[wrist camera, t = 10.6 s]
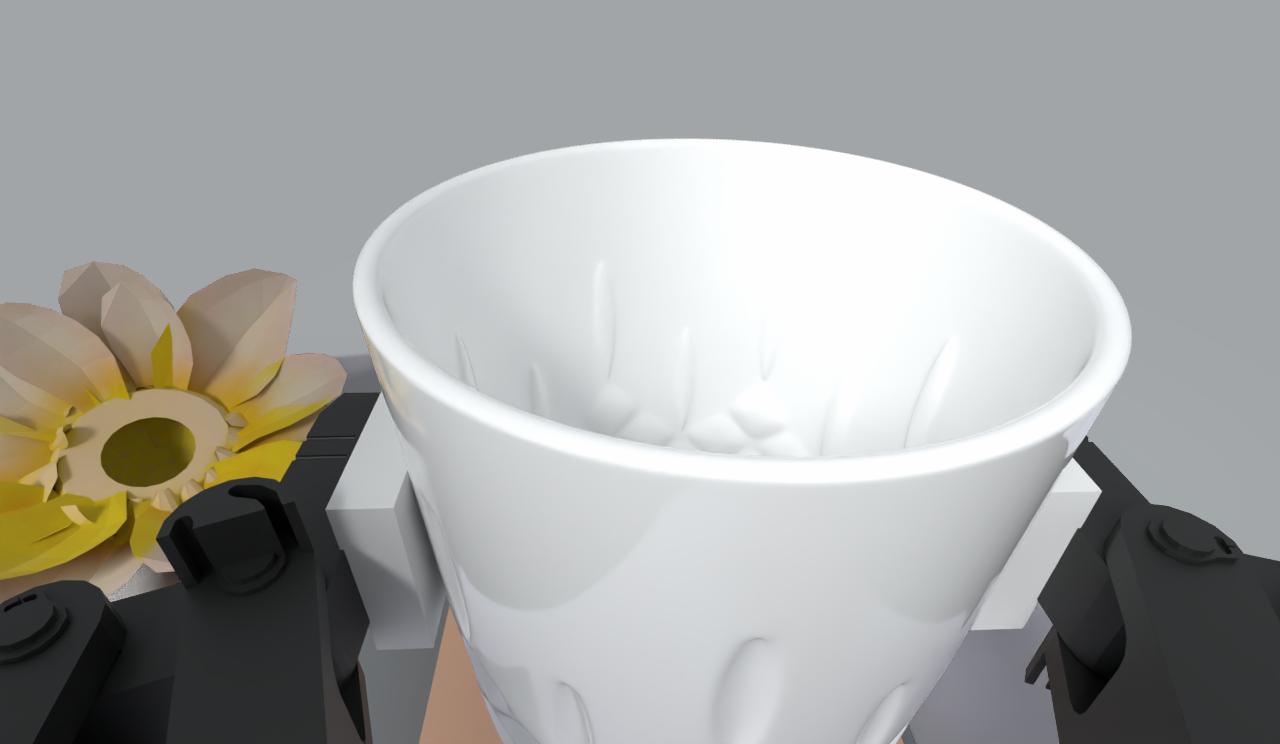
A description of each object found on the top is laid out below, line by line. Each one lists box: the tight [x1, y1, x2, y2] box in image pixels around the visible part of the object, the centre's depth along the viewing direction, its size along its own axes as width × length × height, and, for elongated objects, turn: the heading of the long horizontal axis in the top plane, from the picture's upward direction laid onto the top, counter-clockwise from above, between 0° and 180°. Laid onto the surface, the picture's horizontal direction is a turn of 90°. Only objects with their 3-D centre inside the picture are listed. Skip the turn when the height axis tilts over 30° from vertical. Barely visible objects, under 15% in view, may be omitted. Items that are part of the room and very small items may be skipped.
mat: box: [358, 595, 915, 744], centre depth 20 cm, size 16×17×1 cm
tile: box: [419, 605, 904, 744], centre depth 22 cm, size 12×2×14 cm
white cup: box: [352, 139, 1132, 744], centre depth 10 cm, size 8×8×10 cm
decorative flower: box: [0, 262, 348, 604], centre depth 21 cm, size 15×11×10 cm
